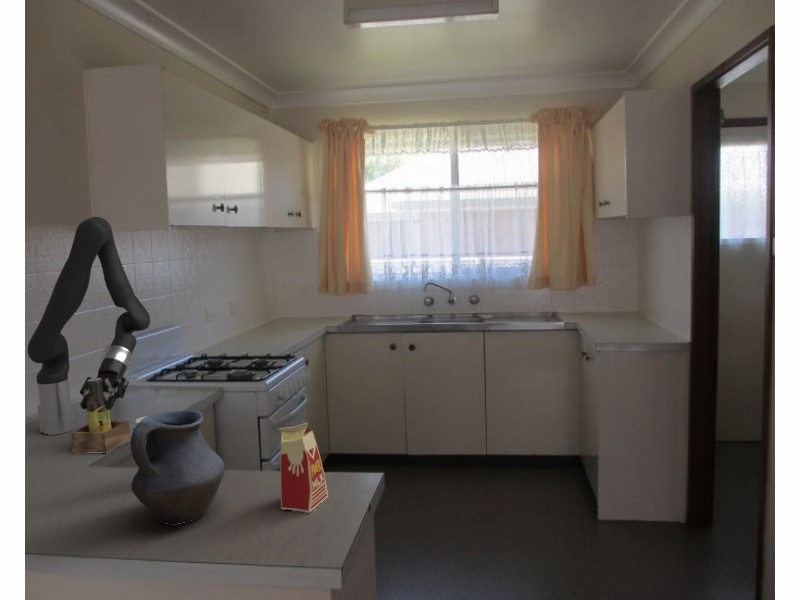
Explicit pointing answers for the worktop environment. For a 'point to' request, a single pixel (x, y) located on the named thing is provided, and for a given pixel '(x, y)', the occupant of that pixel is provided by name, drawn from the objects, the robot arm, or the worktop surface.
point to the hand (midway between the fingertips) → (95, 408)
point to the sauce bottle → (97, 407)
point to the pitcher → (174, 466)
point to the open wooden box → (100, 438)
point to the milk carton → (301, 470)
